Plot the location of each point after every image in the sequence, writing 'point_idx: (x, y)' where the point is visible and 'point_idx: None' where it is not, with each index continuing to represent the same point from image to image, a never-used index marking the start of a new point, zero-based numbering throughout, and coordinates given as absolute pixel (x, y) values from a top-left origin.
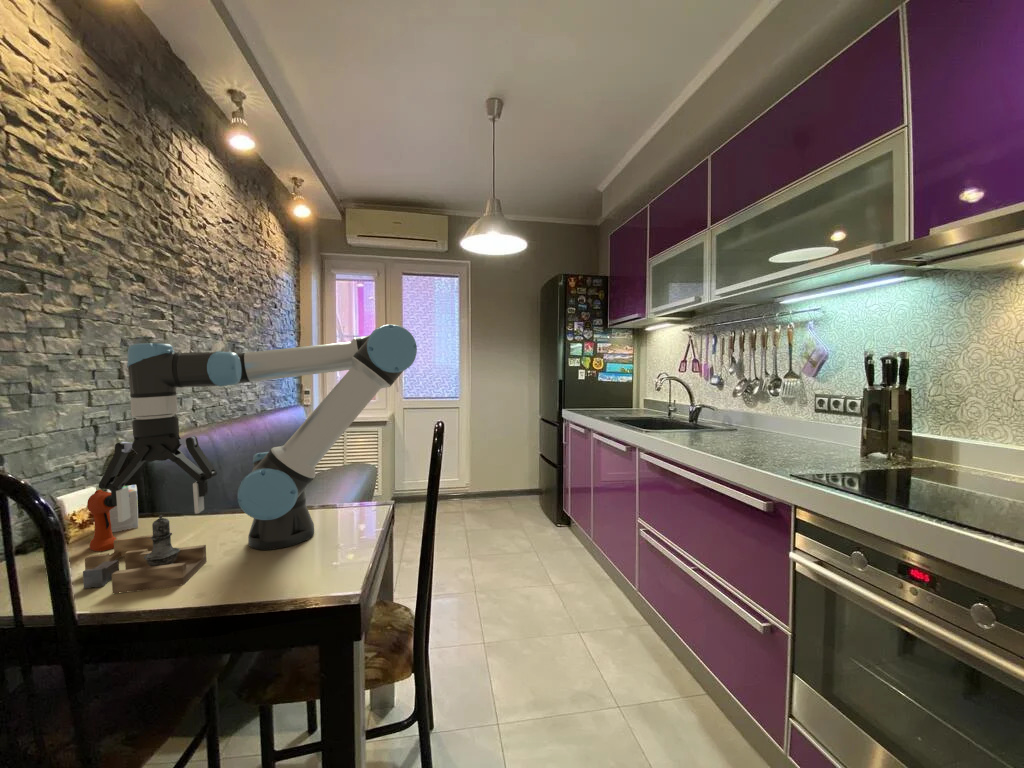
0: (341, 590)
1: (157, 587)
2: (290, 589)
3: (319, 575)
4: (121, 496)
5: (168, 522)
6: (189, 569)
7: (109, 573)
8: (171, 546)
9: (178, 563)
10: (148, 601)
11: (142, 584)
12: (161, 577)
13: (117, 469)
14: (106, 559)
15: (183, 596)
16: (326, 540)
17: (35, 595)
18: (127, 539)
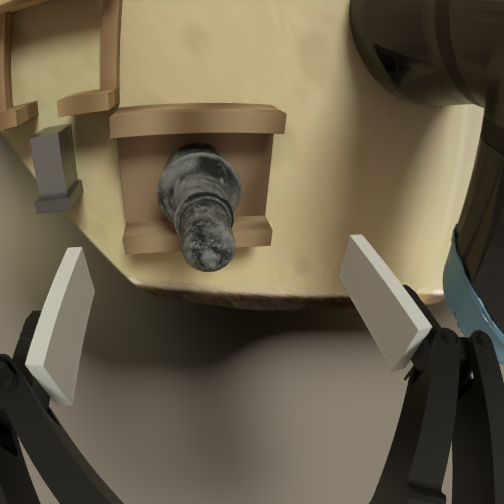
0: (442, 286)
1: None
2: (407, 275)
3: (441, 245)
4: (74, 376)
5: (235, 245)
6: (262, 191)
7: (69, 166)
8: (224, 195)
9: (256, 231)
10: (221, 269)
11: None
12: None
13: (18, 492)
14: (22, 120)
15: (275, 265)
16: None
17: None
18: (5, 2)
